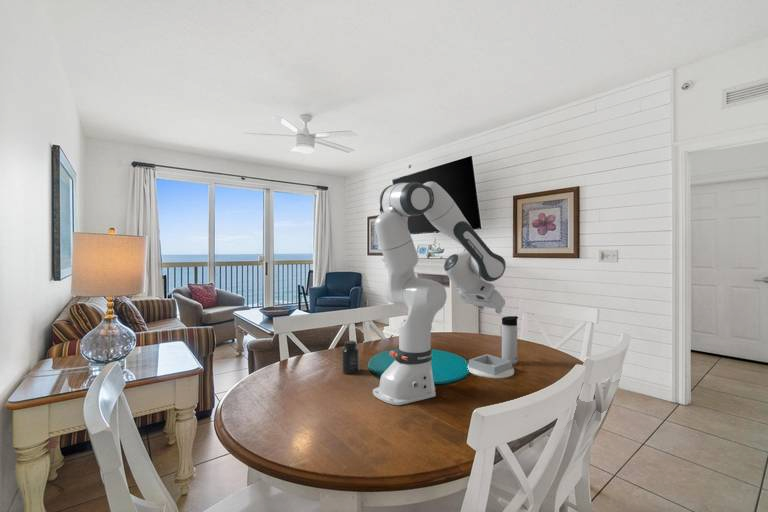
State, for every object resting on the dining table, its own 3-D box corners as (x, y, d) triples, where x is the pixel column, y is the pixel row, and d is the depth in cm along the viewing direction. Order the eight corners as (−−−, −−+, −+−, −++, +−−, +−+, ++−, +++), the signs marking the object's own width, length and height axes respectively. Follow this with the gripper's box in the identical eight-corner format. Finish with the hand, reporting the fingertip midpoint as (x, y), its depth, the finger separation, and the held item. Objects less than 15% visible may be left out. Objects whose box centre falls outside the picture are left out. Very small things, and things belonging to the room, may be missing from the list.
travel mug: (520, 365, 149) (520, 317, 148) (504, 365, 149) (504, 317, 149) (515, 360, 155) (515, 315, 155) (499, 360, 155) (499, 315, 155)
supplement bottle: (360, 369, 146) (360, 339, 146) (357, 374, 140) (357, 344, 139) (343, 368, 147) (343, 339, 147) (340, 374, 140) (339, 344, 140)
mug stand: (496, 382, 131) (496, 371, 131) (458, 369, 145) (458, 359, 145) (523, 371, 142) (523, 361, 142) (484, 360, 156) (484, 351, 156)
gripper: (450, 291, 147) (468, 312, 153) (488, 297, 130) (506, 321, 135) (458, 280, 149) (475, 301, 155) (496, 284, 132) (514, 307, 137)
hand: (490, 310), depth 145 cm, fingers open, 8 cm apart
